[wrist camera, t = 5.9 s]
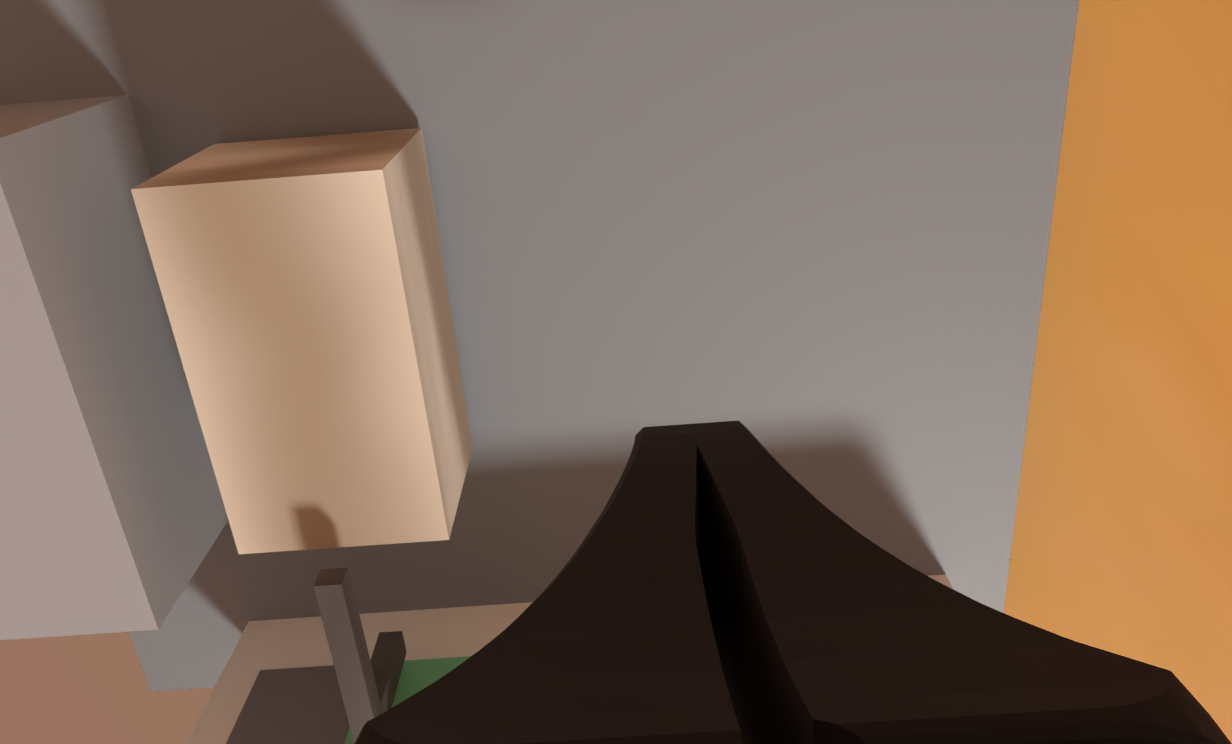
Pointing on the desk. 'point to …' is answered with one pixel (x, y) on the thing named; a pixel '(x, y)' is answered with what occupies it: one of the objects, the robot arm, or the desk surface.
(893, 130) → the gauge board
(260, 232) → the block
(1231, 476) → the desk surface
